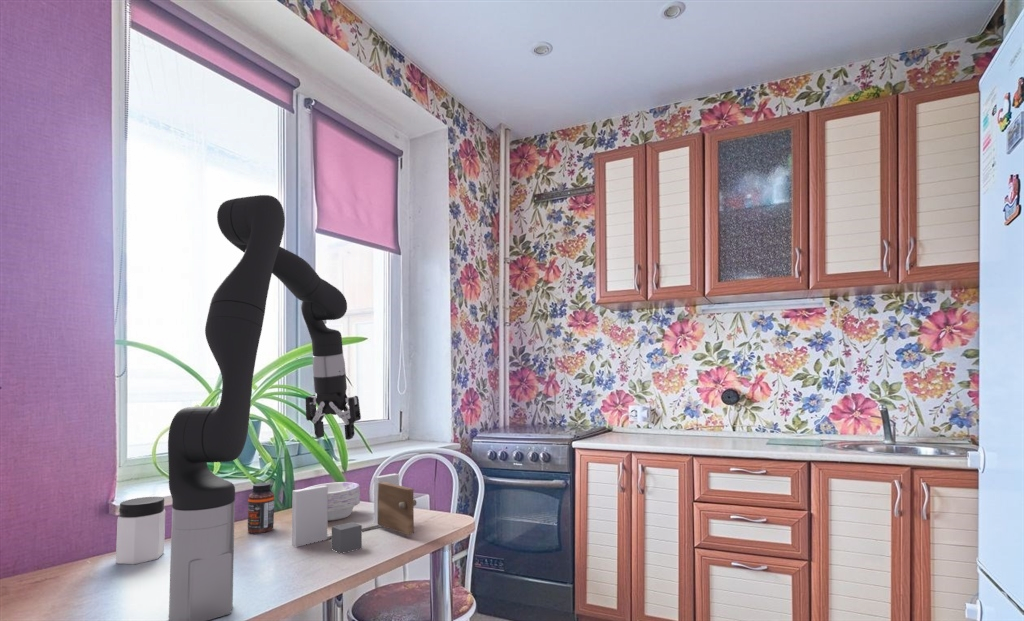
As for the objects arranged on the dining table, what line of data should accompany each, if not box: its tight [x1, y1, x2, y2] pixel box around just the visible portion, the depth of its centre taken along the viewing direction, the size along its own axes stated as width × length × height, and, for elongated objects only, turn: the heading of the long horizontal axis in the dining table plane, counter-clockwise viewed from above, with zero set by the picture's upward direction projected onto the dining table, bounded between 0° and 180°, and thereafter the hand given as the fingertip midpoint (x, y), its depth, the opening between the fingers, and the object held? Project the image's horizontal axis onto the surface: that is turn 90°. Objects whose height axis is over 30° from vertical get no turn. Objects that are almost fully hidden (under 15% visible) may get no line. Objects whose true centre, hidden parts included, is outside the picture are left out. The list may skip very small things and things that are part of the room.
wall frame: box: [291, 473, 400, 548], centre depth 140 cm, size 2×27×12 cm, turn 134°
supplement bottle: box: [247, 482, 275, 534], centre depth 144 cm, size 6×6×11 cm
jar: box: [115, 496, 166, 565], centre depth 125 cm, size 9×8×12 cm
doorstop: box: [331, 521, 363, 554], centre depth 128 cm, size 4×5×5 cm
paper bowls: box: [306, 481, 361, 522], centre depth 156 cm, size 15×15×8 cm
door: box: [378, 482, 418, 535], centre depth 140 cm, size 4×14×10 cm, turn 44°
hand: (334, 438), depth 143 cm, fingers open, 8 cm apart
